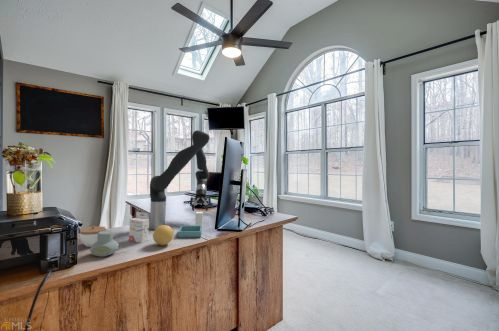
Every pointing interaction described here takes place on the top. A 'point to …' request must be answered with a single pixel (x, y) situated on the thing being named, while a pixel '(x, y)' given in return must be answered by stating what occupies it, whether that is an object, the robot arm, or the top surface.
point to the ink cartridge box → (139, 228)
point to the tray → (189, 231)
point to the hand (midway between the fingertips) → (199, 210)
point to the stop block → (199, 219)
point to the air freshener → (104, 244)
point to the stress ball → (163, 235)
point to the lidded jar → (90, 235)
